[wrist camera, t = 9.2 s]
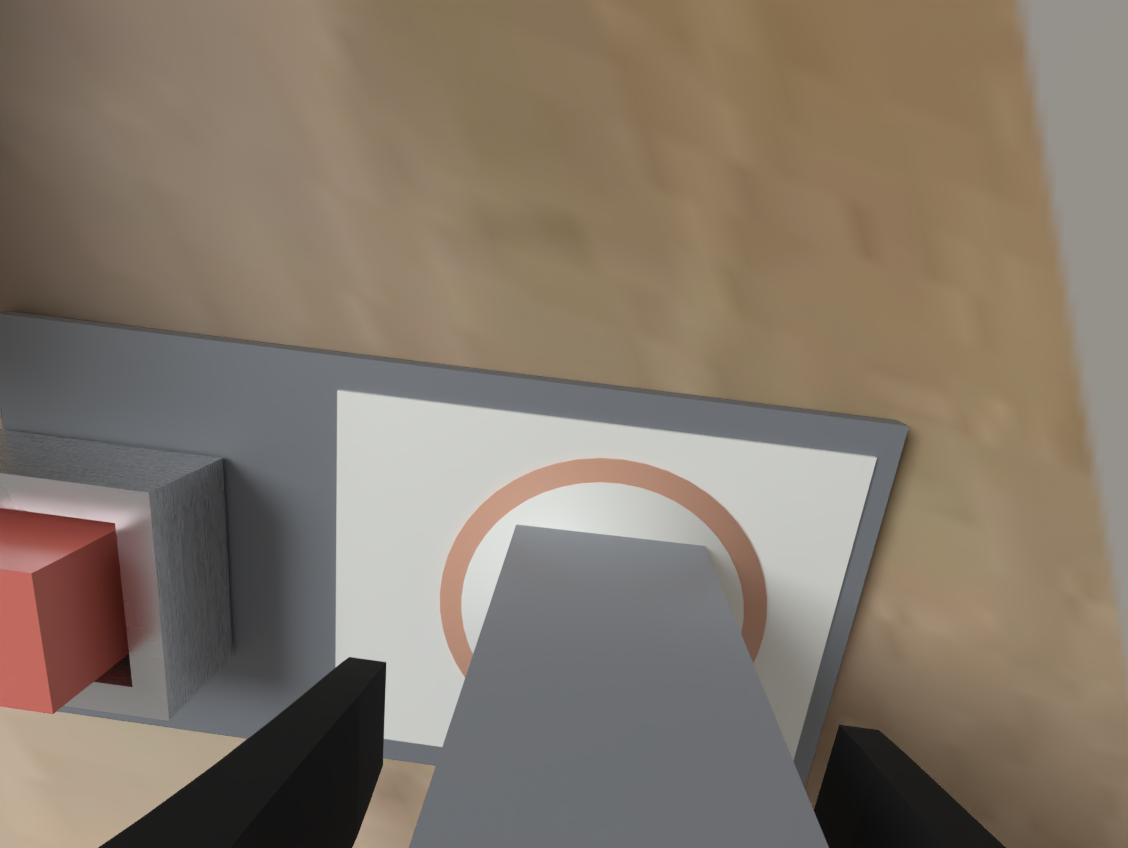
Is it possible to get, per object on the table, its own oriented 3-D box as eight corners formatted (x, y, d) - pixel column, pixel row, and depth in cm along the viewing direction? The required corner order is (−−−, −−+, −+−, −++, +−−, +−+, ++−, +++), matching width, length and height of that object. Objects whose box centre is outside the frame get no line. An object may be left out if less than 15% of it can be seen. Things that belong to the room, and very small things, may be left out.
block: (676, 704, 12) (807, 1389, 5) (503, 682, 13) (356, 1317, 5) (704, 545, 11) (929, 1092, 4) (515, 524, 12) (354, 1009, 4)
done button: (143, 642, 12) (52, 713, 10) (16, 624, 12) (-98, 691, 10) (132, 521, 11) (31, 573, 9) (-4, 503, 11) (-132, 550, 9)
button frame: (232, 655, 13) (169, 720, 11) (30, 627, 13) (-68, 687, 11) (222, 457, 12) (149, 492, 10) (-2, 429, 12) (-118, 457, 10)
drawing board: (789, 798, 14) (800, 826, 13) (66, 695, 14) (39, 716, 14) (895, 420, 11) (915, 429, 11) (10, 311, 12) (-27, 312, 11)
